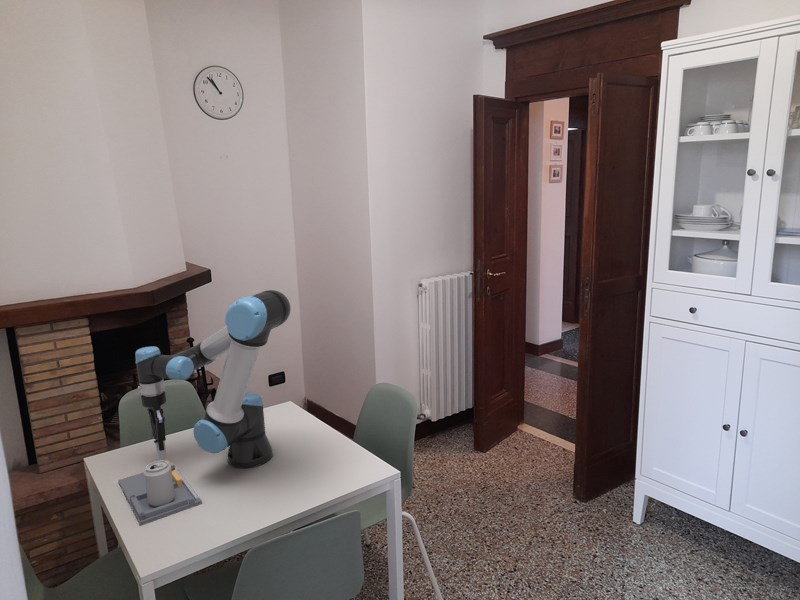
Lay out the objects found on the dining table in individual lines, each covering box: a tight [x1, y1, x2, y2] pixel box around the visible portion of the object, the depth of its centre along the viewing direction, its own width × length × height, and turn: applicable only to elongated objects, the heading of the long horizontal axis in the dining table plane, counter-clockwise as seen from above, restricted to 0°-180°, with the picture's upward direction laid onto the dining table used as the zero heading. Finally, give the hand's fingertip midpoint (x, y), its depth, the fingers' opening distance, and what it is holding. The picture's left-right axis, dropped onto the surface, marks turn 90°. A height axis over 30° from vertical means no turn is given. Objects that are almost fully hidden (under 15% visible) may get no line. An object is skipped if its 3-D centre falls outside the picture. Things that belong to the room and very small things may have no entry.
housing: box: [118, 461, 203, 527], centre depth 177 cm, size 30×17×2 cm, turn 36°
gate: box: [164, 459, 182, 487], centre depth 185 cm, size 17×2×3 cm, turn 36°
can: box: [143, 459, 175, 507], centre depth 169 cm, size 8×8×12 cm
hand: (162, 457), depth 195 cm, fingers closed
